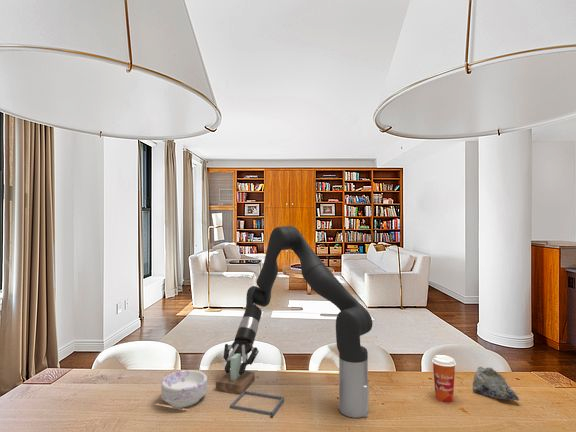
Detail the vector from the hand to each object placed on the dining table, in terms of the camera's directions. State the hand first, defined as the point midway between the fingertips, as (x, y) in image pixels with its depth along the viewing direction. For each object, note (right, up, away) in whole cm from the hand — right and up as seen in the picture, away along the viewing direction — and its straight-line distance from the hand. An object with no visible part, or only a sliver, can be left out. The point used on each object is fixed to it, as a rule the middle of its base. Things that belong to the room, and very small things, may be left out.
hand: (233, 373), depth 134 cm
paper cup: (+75, -6, -7) cm, 75 cm away
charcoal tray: (+10, -6, -12) cm, 17 cm away
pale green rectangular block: (+1, -5, +2) cm, 6 cm away
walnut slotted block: (+1, -6, +2) cm, 6 cm away
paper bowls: (-16, -6, -9) cm, 19 cm away
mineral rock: (+93, -6, -6) cm, 93 cm away
